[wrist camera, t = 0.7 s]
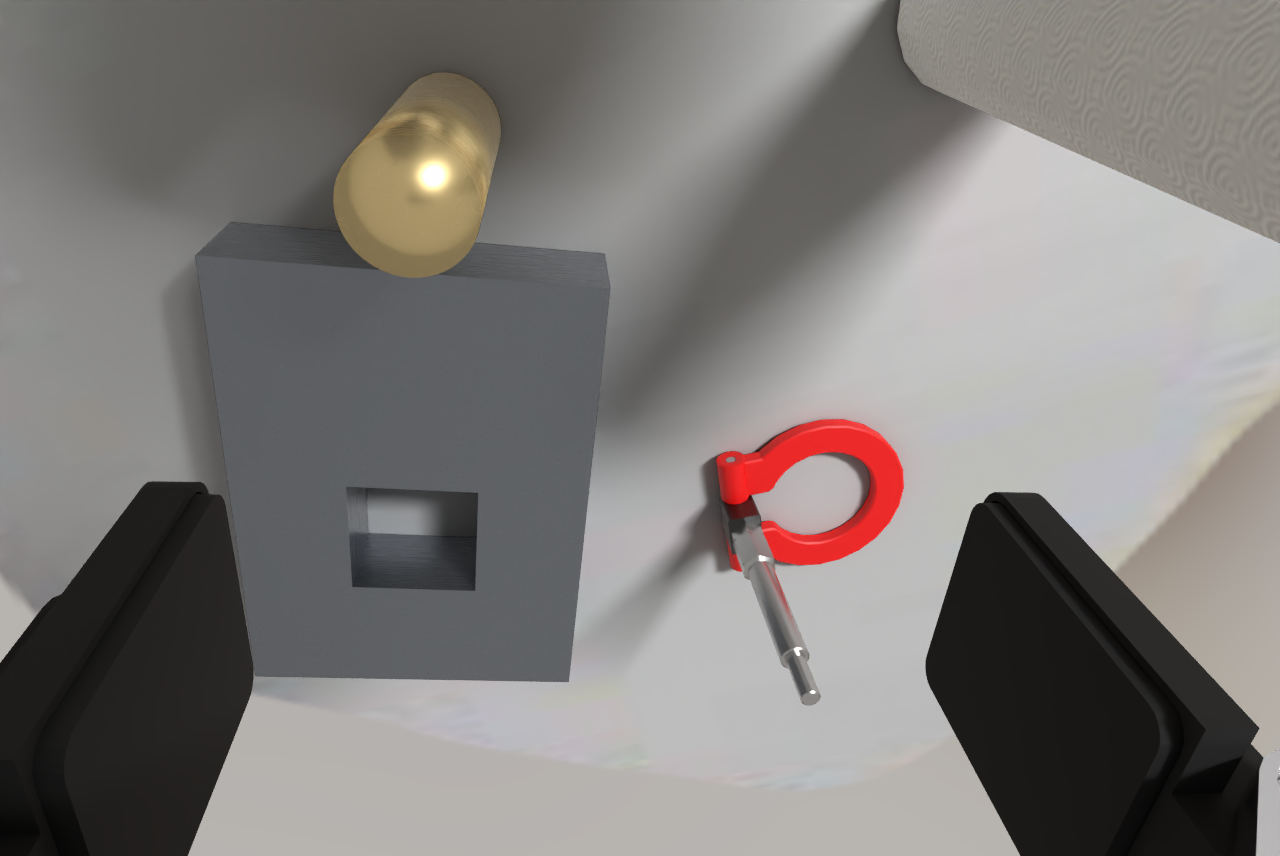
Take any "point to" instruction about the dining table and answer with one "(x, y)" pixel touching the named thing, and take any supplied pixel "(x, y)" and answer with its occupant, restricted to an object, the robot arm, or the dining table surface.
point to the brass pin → (421, 178)
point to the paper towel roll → (1124, 86)
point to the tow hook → (767, 541)
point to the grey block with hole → (405, 450)
